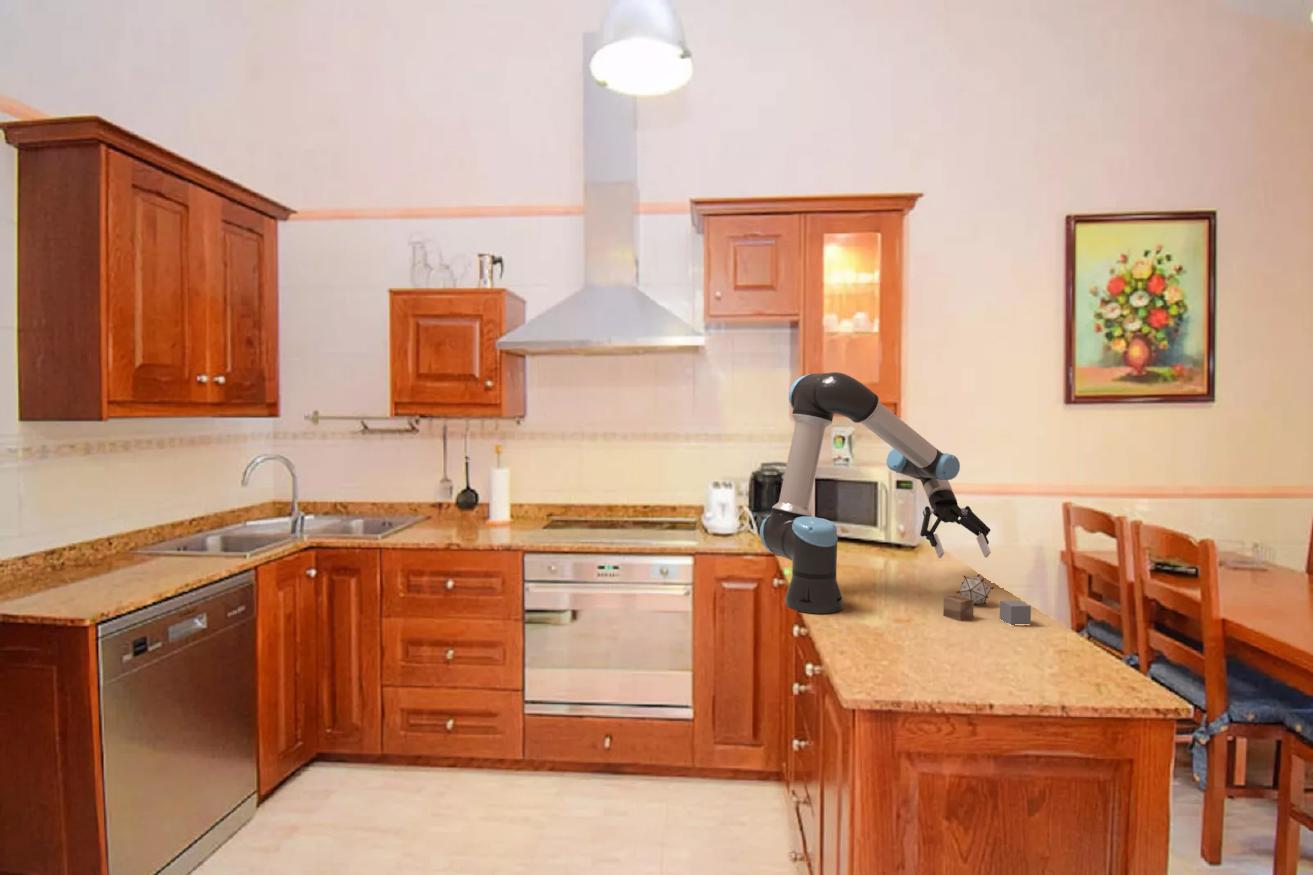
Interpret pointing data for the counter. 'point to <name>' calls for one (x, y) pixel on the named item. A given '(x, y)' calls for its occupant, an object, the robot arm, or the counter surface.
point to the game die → (975, 589)
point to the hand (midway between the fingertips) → (964, 555)
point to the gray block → (1015, 612)
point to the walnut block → (958, 607)
